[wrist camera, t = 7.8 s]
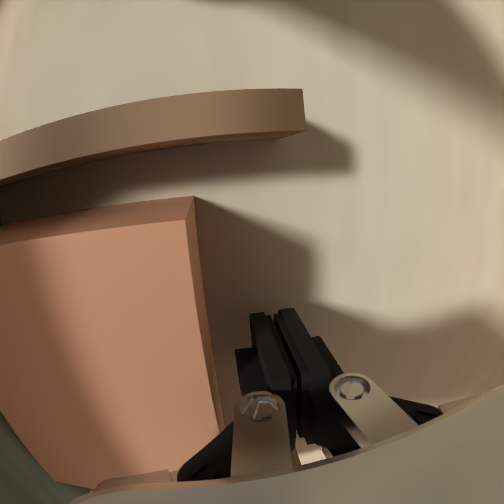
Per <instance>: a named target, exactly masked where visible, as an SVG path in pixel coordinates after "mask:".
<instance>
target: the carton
mask: <svg viewBox="0 0 504 504" xmlns="http://www.w3.org/2000/svg"><path fill="white" fill-rule="evenodd" d="M0 411H1V413H2V414H3V416H4V417H5V419H6V420H7V422H8V423H9V425H10V426H11V428H12V429H13V430H14V432H15V433H16V435H17V436H18V437H19V439H20V440H21V441H22V443H23V444H24V445H25V447H26V448H27V449H28V451H29V452H30V453H31V454H32V456H33V457H34V458H35V459H36V460H37V462H38V463H39V464H40V465H41V466H42V468H43V469H44V470H45V471H46V472H47V473H48V475H49V476H50V477H51V478H52V479H53V480H54V481H55V482H60V483H65V484H70V485H75V486H80V487H86V488H93V489H95V488H96V487H97V485H98V484H99V483H100V482H102V481H103V480H106V479H110V478H118V477H125V476H132V475H139V474H145V473H150V472H156V471H161V470H166V469H168V471H169V472H172V471H176V470H179V469H180V468H181V467H182V465H183V464H184V463H185V462H187V461H188V460H189V459H190V458H192V457H193V456H194V455H195V454H196V453H198V452H199V451H200V450H201V449H202V448H203V447H205V446H206V445H207V444H208V443H209V442H210V441H212V440H213V439H214V438H215V437H216V436H217V435H218V434H220V433H221V432H222V431H223V430H224V429H225V424H224V416H223V411H222V405H221V400H220V394H219V388H218V383H217V377H216V371H215V364H214V358H213V352H212V345H211V338H210V332H209V325H208V318H207V310H206V303H205V295H204V288H203V280H202V271H201V263H200V254H199V245H198V236H197V226H196V216H195V206H194V196H187V197H177V198H168V199H159V200H151V201H143V202H135V203H128V204H120V205H113V206H106V207H100V208H93V209H87V210H80V211H74V212H68V213H62V214H57V215H51V216H45V217H40V218H35V219H30V220H24V221H19V222H15V223H10V224H5V225H3V226H0Z"/></svg>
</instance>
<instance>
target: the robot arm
mask: <svg viewBox="0 0 504 504" xmlns="http://www.w3.org/2000/svg"><path fill="white" fill-rule="evenodd" d="M249 318H250V329H251V339H252V347H251V348H244V349H236V350H235V356H236V363H237V370H238V377H239V383H240V389H241V394H242V398H240V399H239V400H238V402H237V403H236V406H235V411H234V421H233V422H232V423H231V424H230V425H228V426H227V427H226V428H225V429H224V430H223V431H222V432H221V433H220V434H218V435H217V436H216V437H215V438H214V439H213V440H212V441H210V442H209V443H208V444H207V445H206V446H205V447H203V448H202V449H201V450H200V451H199V452H198V453H196V454H195V455H194V456H193V457H192V458H190V459H189V460H188V461H187V462H185V463H184V464H183V465H182V467H181V468H180V469H179V470H176V471H172V472H169V471H168V469H166V470H161V471H156V472H150V473H145V474H139V475H132V476H125V477H118V478H110V479H106V480H103V481H102V482H100V483H99V484H98V485H97V487H96V488H95V490H94V491H93V492H90V493H87V494H84V495H82V496H79V497H77V498H75V499H74V500H72V501H71V502H70V503H69V504H504V384H501V385H499V386H497V387H495V388H493V389H490V390H488V391H487V392H485V393H483V394H477V395H474V396H471V397H467V398H464V399H460V400H457V401H453V402H449V403H445V404H441V405H439V406H438V408H435V407H433V406H430V405H426V404H421V403H417V402H412V401H408V400H403V399H399V398H395V397H390V396H388V395H387V394H386V393H385V392H384V391H383V390H382V389H381V388H380V387H379V386H378V385H377V384H376V383H375V382H374V381H373V380H371V379H370V378H369V377H367V376H365V375H363V374H359V373H345V374H344V373H343V371H342V370H341V368H340V367H339V365H338V364H337V362H336V360H335V359H334V357H333V356H332V354H331V353H330V351H329V350H328V348H327V346H326V345H325V343H324V342H323V340H322V339H321V338H320V336H316V337H311V336H310V335H309V333H308V331H307V330H306V328H305V326H304V325H303V323H302V321H301V320H300V318H299V316H298V315H297V313H296V311H295V310H294V308H287V309H281V310H279V311H278V314H274V323H273V321H272V318H271V316H270V315H265V313H264V312H260V313H253V314H249ZM296 430H297V433H298V435H299V437H300V438H303V437H305V439H306V442H307V445H309V444H313V443H314V444H317V445H319V446H322V451H323V453H324V455H325V457H326V458H327V459H324V460H320V461H316V462H312V463H308V464H304V465H300V466H295V467H292V459H291V452H292V451H293V450H294V448H295V439H296Z"/></svg>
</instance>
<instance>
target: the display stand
mask: <svg viewBox="0 0 504 504" xmlns="http://www.w3.org/2000/svg"><path fill="white" fill-rule="evenodd" d="M303 131H306V125H305V113H304V102H303V91H302V89H245V90H227V91H214V92H203V93H193V94H185V95H177V96H169V97H162V98H156V99H150V100H144V101H138V102H133V103H128V104H123V105H118V106H113V107H109V108H104V109H100V110H96V111H92V112H88V113H84V114H80V115H76V116H73V117H69V118H65V119H62V120H59V121H55V122H52V123H49V124H46V125H43V126H40V127H37V128H34V129H31V130H28V131H25V132H22V133H20V134H17V135H14V136H12V137H9V138H6V139H4V140H1V141H0V186H2V185H5V184H8V183H11V182H14V181H18V180H21V179H24V178H28V177H31V176H35V175H38V174H42V173H46V172H50V171H54V170H57V169H61V168H66V167H70V166H74V165H78V164H83V163H87V162H92V161H97V160H101V159H106V158H112V157H117V156H122V155H128V154H134V153H139V152H146V151H152V150H159V149H166V148H173V147H180V146H189V145H197V144H206V143H216V142H227V141H240V140H255V139H273V138H282V137H286V136H289V135H292V134H296V133H299V132H303ZM0 226H2V225H1V219H0ZM291 459H292V467H295V466H300V465H301V463H300V460H299V457H298V454H297V451H296V448H294V450H293V451H292V452H291ZM94 490H95V489H93V488H86V487H80V486H75V485H70V484H65V483H60V482H55V481H54V480H53V479H52V478H51V477H50V476H49V475H48V473H47V472H46V471H45V470H44V469H43V468H42V466H41V465H40V464H39V463H38V462H37V460H36V459H35V458H34V457H33V456H32V454H31V453H30V452H29V451H28V449H27V448H26V447H25V445H24V444H23V443H22V441H21V440H20V439H19V437H18V436H17V435H16V433H15V432H14V430H13V429H12V428H11V426H10V425H9V423H8V422H7V420H6V419H5V417H4V416H3V414H2V413H1V411H0V504H69V503H70V502H71V501H72V500H74V499H75V498H77V497H79V496H82V495H84V494H87V493H90V491H94Z"/></svg>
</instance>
